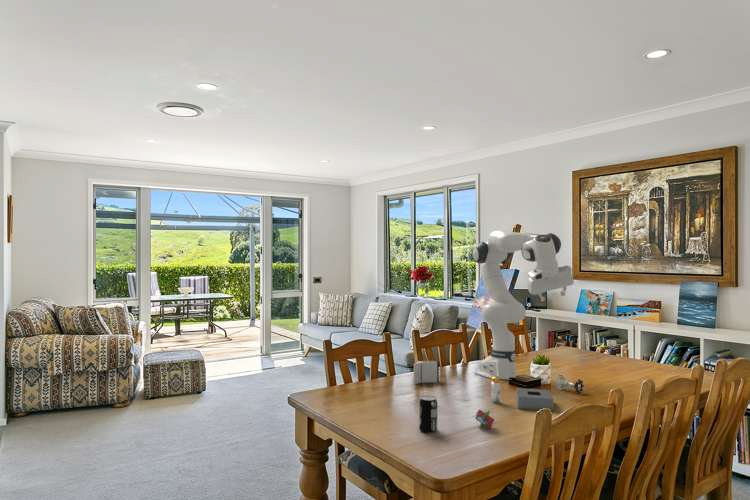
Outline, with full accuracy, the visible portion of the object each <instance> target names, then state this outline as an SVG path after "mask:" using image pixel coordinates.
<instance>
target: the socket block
mask: <svg viewBox="0 0 750 500" xmlns="http://www.w3.org/2000/svg"><path fill="white" fill-rule="evenodd" d="M515 401H516V406H517V409H518V410H528V409H531V411H541V410H540V409H543V408H549V409H550V410H551V411H550V412H554V398H553V396H552V393H551V391H550V389H540V388H539V389H537V388H536V389H535V388H524V387H522V388H521V387H520V388H519V387H516V388H515ZM534 409H535V410H534Z"/></svg>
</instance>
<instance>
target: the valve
mask: <svg viewBox="0 0 750 500" xmlns="http://www.w3.org/2000/svg"><path fill="white" fill-rule="evenodd" d="M556 377H557V378H556V381H555V384H556V390H558V391H565V389H566V388H568V387H570V388H574V389H575V393H576V394H579V395H580V394H581V393H582V392H583V391H584V390H583V388H584V384H583V383H584V381H583V380H581V379H577V381H575V383H574V382H570V381H569V380H565V377H566V376H565V375H564V374H557V375H556ZM565 387H566V388H565Z"/></svg>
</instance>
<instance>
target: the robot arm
mask: <svg viewBox="0 0 750 500" xmlns="http://www.w3.org/2000/svg"><path fill="white" fill-rule="evenodd" d="M561 247H562V241H561V239H560V237H558V236H557V235H556V234H555V233H552V232H549V233H546V234H538V233H537V234H536V233H525V232H516V231H510V230H504V229H497V230H496V229H495V230H493V231H492V232H491V233H490V234H489V236H488V241H486V242H484V241H482V242H480V243H478V244H477V245H475V246H474V247H473V248H472V251H471V253H472V259H473V260H474V262H475V263H478V264H480V275H481V280H482V283H483V286H484V290H485V293H486V295H487V297H489V298H490V299H491V300H493V301H494V302H492V303H488V304H486V305H484V306H483V307H482V309H481V317H482V320H483V321H484V322H485V323H486V324H487V325H488V326H489V328H490V331H491V334H492V349H489V350H488V353H490V354H489V355H488V356H487V357H486V358H484V359H483V360H481V361H480V363H479V366H478V369H476V370H475V371H474V374H476V375H477V376H482V377H486V378H488V379H491V377H492V376H498V377H500V380H510V379H509V378H510V377H515V376H518V374H517V369H516V349H515V344H516V343H515V342H516V341H515V335H514V333H513V332H512V331H510V330H509V329H508V324H513V323H514V324H515V323H519V322H521V321H523V320H525V317H526V315H527V313H526V312H527V310H526V307H525V306H524V305H523V304H522V303H521V302H519V301H518V300H517V299H516V298H515V297H514V296H513V295H512V294H511V292H510V291H509V289H508V287H507V285H506V281H505V279H504V275H503V272H502V270H501V265H506V264H507V262H508V261H510V259H511V258H512V257H513V253H515V252H518V251H521V255H522V258H523V259H524V260H525V261H528V262H532V263H533V262H536V265H537V266H536V267H535V268H533V269H531V270H530V271H529V272H527V276H528V279H527V290H528V292H529V293H530V294H531V295H532V296H536V295H537V296H539V298H540V300H541V302H546V297H545V296H543V293H546V292H551V291H554V290H559V289H561V288H562V290H561V291H560V296H561V297H565V296H566V291H567V289H568V286H573V284H574V283H575V281H574V278H573V277H574V276H573V274H572V272H573V270H572V267H571V266H569V265H562V266H559V264H558V260H557V254H558V253H560V250H561Z"/></svg>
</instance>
